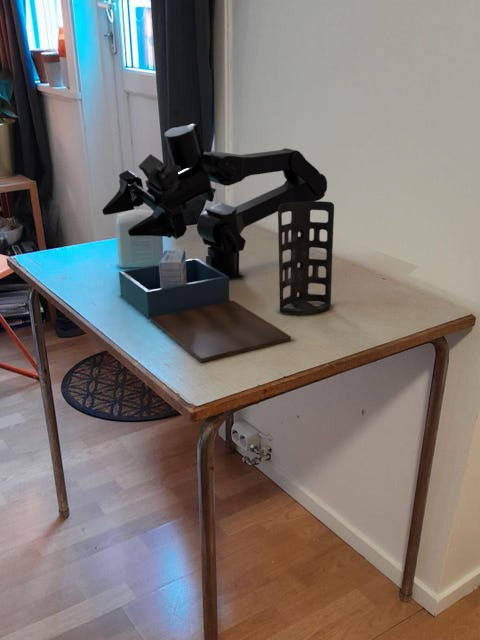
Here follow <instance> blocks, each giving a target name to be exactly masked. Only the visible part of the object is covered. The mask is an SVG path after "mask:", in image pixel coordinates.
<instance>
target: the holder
mask: <svg viewBox="0 0 480 640" xmlns="http://www.w3.org/2000/svg"><path fill="white" fill-rule="evenodd" d="M311 211H325V212H326V213H327V221H326V222H320V221H311ZM288 212H291V214H290V215H291V216H290V222H289V223H285V224H283V214H285V213H288ZM334 224H335V203H333V202H331V201H323V200H318V201H309V202H292V203H284V204H280V205H279V206H278V212H277V229H278V230H277V231H278V234H277V235H278V236H277V237H278V276H279V278H278V279H279V284H278V285H279V286H278V287H279V313H281V314H284V315H285V314H286V315H290V314H309V313H311V314H315V313H321V312H326V311H327V310H329V309H330V308H331V307H332V276H333V272H332V271H333V248H334V247H333V246H334ZM311 230H313V239H312V240H310V239H311V238H310V237H311V234H310V233H311ZM322 230H323V231H326V240H325V241H324V240H321V238H320V237H321V236H320V234H321V231H322ZM283 233H284V234H283ZM289 234H290V235H289ZM299 235H300V236H299ZM283 236H284V237H283ZM289 237H290V240H289ZM283 238H284V240H283ZM283 241H284V242H283ZM311 248H315V249H323V250H325V252H326V253H325V254H326V256H325V257H326V258H325V259H321V258H310V249H311ZM288 250H290V260H287V261H284V259H283V253H284V252H285V251H288ZM298 264H299V265H298ZM311 266H312V273H311V275H310V267H311ZM320 267H322V268H325V277H323V276H322V277H321V276H319V268H320ZM289 271H290V274H289ZM289 275H290V276H289ZM310 284H319V285H324V289H325V290H324V294H320V293H309V285H310ZM287 287H289V288H290V289H289V291H290V292H289V296H286V297H284V289H286V288H287ZM310 302H317V303H321V304H319V305H314V304H312V303H310ZM290 304H292V305H293V306H294V308H293V307H292V308H291V307H290V308H289V307H286V306H288V305H290Z"/></svg>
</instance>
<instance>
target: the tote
mask: <svg viewBox="0 0 480 640" xmlns="http://www.w3.org/2000/svg"><path fill="white" fill-rule="evenodd" d="M118 278H119V291H120V297H121V298H122V299H123V300H125V301H126V302H127V303H128V304H129V305H131V306H132V307H133V308H134V309H136V311H138V312H139V313H140V314H141V315H143V316H144V317H145V318H147V319H148V320H150V318H152V317H156V316H161V315H166V314H171V313H176V312H181V311H185V310H190V309H195V308H200V307H205V306H209V305H214V304H219V303H224V302H229V301H230V279H229V276H227V275H225V274H223V273H222V272H220V271H218V270H216V269H215V268H213V267H211V266H210V265H208V264H206V262H204V261H203V260H201V259H199V258H197V257H196V258H189V259H186V279H187V283H186V284H180V285H175V286H170V287H164V288H161V284H160V270H159V265H153V266H145V267H134V268H129V269H124V270H119V271H118Z"/></svg>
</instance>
